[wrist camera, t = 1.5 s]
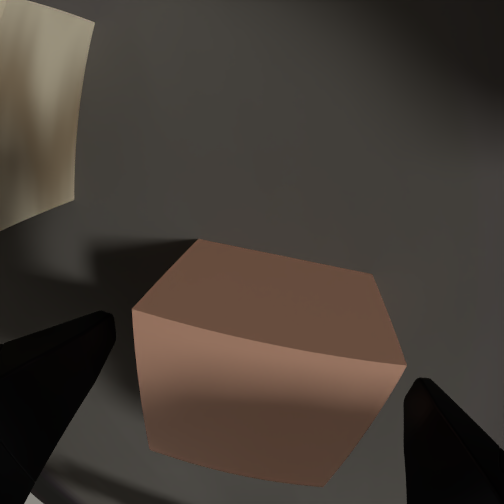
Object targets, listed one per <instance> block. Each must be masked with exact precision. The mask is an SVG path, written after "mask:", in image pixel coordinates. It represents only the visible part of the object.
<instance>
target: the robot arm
mask: <svg viewBox="0 0 504 504" xmlns="http://www.w3.org/2000/svg"><path fill="white" fill-rule="evenodd" d="M115 341H116V331H115V322H114V317H113V315H112V314H111V313H108V312H105V311H97V312H94V313H91V314H88V315H86V316H83V317H80V318H77V319H74V320H71V321H68V322H65V323H62V324H59V325H56V326H53V327H50V328H47V329H44V330H42V331H39V332H36V333H33V334H30V335H27V336H24V337H21V338H18V339H15V340H12V341H9V342H6V343H4V344H0V504H24V503H25V501H26V499H27V497H28V495H29V494H30V492H31V490H32V488H33V486H34V484H35V482H36V480H37V478H38V477H39V475H40V473H41V471H42V469H43V468H44V466H45V464H46V462H47V460H48V459H49V457H50V455H51V454H52V452H53V450H54V448H55V447H56V445H57V443H58V442H59V440H60V438H61V436H62V435H63V433H64V431H65V430H66V428H67V426H68V425H69V423H70V421H71V420H72V418H73V417H74V415H75V413H76V412H77V410H78V408H79V407H80V405H81V404H82V402H83V400H84V399H85V397H86V396H87V394H88V393H89V391H90V389H91V388H92V386H93V385H94V383H95V381H96V379H97V377H98V376H99V374H100V371H101V369H102V367H103V365H104V363H105V361H106V359H107V357H108V355H109V353H110V351H111V349H112V348H113V346H114V343H115ZM404 457H405V471H406V489H407V504H504V451H503V450H502V449H501V448H500V447H499V446H498V445H497V444H496V443H495V442H494V441H493V440H492V439H491V437H490V436H489V435H488V434H487V433H486V432H485V431H484V430H483V429H482V428H481V427H480V426H479V425H477V424H476V423H475V422H474V421H473V420H472V419H471V418H470V417H469V416H468V415H467V414H466V413H465V412H464V411H463V410H462V409H461V408H460V407H459V406H458V405H457V404H456V403H455V402H454V401H453V400H452V399H451V398H450V397H449V396H448V395H447V394H446V393H445V392H444V391H443V390H442V389H441V388H440V387H439V386H438V385H436V384H435V383H434V382H433V381H432V380H431V379H430V378H417V379H416V380H415V382H414V383H413V385H412V387H411V388H410V390H409V391H408V393H407V395H406V396H405V399H404Z"/></svg>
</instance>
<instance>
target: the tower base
mask: <svg viewBox="0 0 504 504" xmlns="http://www.w3.org/2000/svg"><path fill="white" fill-rule="evenodd" d="M94 25H95V22H92V21H89V20H87V19H84V18H81V17H79V16H76V15H73V14H70V13H67V12H64V11H61V10H58V9H55V8H52V7H48V6H45V5H42V4H38V3H35V2H31V1H27V0H0V231H2V230H4V229H6V228H8V227H10V226H13V225H15V224H17V223H19V222H22V221H24V220H26V219H28V218H31V217H33V216H35V215H38V214H40V213H43V212H45V211H47V210H50V209H52V208H55V207H57V206H60V205H62V204H65V203H67V202H70V201H73V200H74V172H75V151H76V136H77V125H78V115H79V106H80V98H81V91H82V84H83V78H84V72H85V66H86V61H87V56H88V51H89V46H90V42H91V37H92V33H93V29H94Z"/></svg>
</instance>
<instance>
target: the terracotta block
mask: <svg viewBox="0 0 504 504" xmlns="http://www.w3.org/2000/svg"><path fill="white" fill-rule="evenodd" d="M132 319H133V332H134V344H135V355H136V364H137V373H138V381H139V389H140V396H141V403H142V409H143V416H144V422H145V427H146V433H147V438H148V444H149V449H150V450H152V451H155V452H158V453H161V454H164V455H167V456H170V457H173V458H176V459H179V460H182V461H186V462H189V463H192V464H196V465H200V466H203V467H207V468H211V469H215V470H219V471H223V472H227V473H232V474H236V475H241V476H246V477H251V478H257V479H262V480H268V481H275V482H282V483H289V484H297V485H306V486H317V487H324V485H325V484H326V483H327V482H328V481H329V480H330V478H331V477H332V476H333V475H334V473H335V472H336V471H337V470H338V469H339V467H340V466H341V465H342V463H343V462H344V461H345V460H346V458H347V457H348V456H349V454H350V453H351V452H352V450H353V449H354V448H355V446H356V445H357V444H358V442H359V441H360V439H361V438H362V437H363V435H364V434H365V432H366V431H367V429H368V428H369V427H370V425H371V424H372V422H373V421H374V419H375V418H376V416H377V415H378V413H379V411H380V410H381V408H382V407H383V405H384V404H385V402H386V400H387V399H388V397H389V396H390V394H391V392H392V391H393V389H394V387H395V386H396V384H397V382H398V380H399V379H400V377H401V375H402V373H403V372H404V370H405V368H406V366H407V365H406V362H405V359H404V356H403V353H402V350H401V347H400V344H399V342H398V339H397V336H396V333H395V331H394V328H393V325H392V323H391V320H390V317H389V315H388V312H387V310H386V307H385V304H384V302H383V299H382V297H381V294H380V292H379V290H378V287H377V285H376V282H375V280H374V278H373V275H372V274H368V273H363V272H359V271H354V270H349V269H344V268H339V267H334V266H329V265H324V264H319V263H314V262H310V261H305V260H300V259H295V258H290V257H285V256H280V255H275V254H270V253H265V252H260V251H255V250H250V249H245V248H241V247H236V246H231V245H226V244H221V243H216V242H211V241H206V240H201V239H198V240H197V241H196V242H195V243H194V244H193V245H192V246H191V247H190V248H189V249H188V250H187V251H186V252H185V253H184V254H183V255H182V256H181V257H180V258H179V259H178V260H177V261H176V262H175V263H174V264H173V265H172V267H171V268H170V269H169V270H168V271H167V272H166V273H165V274H164V275H163V276H162V277H161V278H160V279H159V280H158V281H157V282H156V283H155V284H154V286H153V287H152V288H151V289H150V290H149V291H148V292H147V293H146V294H145V295H144V296H143V297H142V298H141V300H140V301H139V302H138V303H137V304H136V305H135V306H134V307H133V308H132Z"/></svg>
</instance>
